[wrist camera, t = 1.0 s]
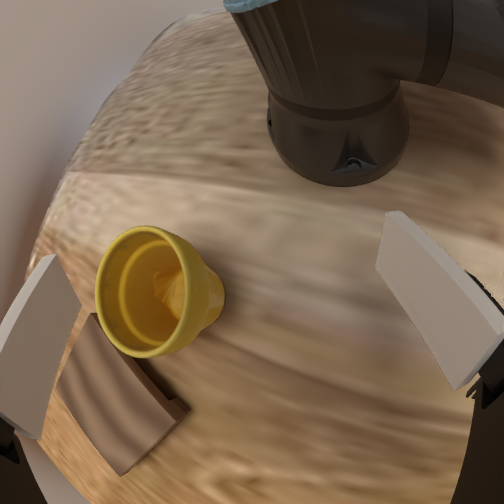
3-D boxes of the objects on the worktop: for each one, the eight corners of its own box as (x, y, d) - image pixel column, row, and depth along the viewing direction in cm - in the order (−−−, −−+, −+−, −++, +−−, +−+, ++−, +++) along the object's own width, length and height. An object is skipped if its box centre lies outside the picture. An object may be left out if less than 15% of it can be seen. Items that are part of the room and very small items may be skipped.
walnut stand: (113, 313, 32) (90, 312, 29) (195, 410, 27) (176, 421, 23) (74, 383, 33) (55, 387, 30) (137, 466, 28) (119, 476, 24)
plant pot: (143, 290, 31) (79, 282, 22) (202, 228, 30) (145, 198, 21) (191, 363, 28) (130, 382, 19) (262, 302, 27) (219, 301, 17)
